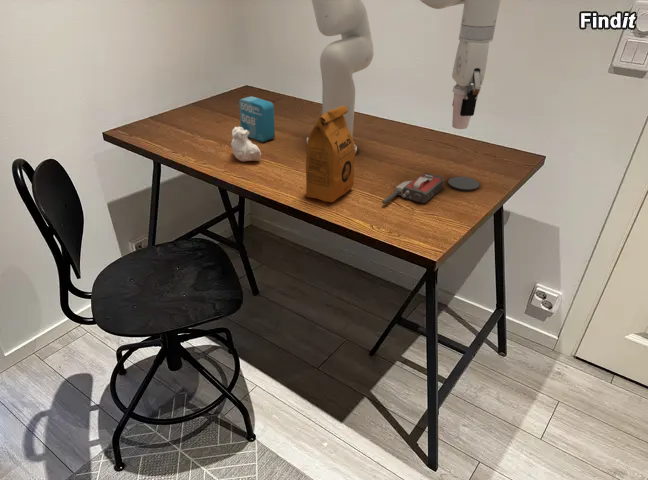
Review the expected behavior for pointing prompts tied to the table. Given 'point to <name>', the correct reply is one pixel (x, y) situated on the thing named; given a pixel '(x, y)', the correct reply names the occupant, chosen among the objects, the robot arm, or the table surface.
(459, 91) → the smoothie
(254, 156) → the white animal figurine
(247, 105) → the data package
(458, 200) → the table surface
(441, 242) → the table surface
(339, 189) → the coffee package
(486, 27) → the robot arm
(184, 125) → the table surface
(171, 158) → the table surface
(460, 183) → the coaster
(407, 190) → the walkie-talkie
